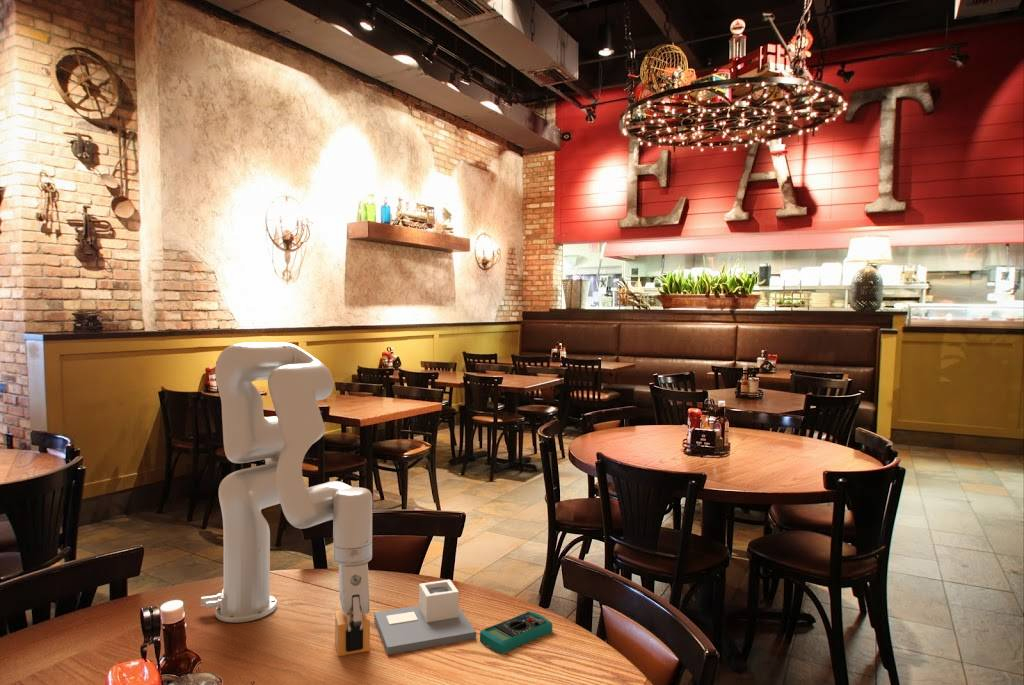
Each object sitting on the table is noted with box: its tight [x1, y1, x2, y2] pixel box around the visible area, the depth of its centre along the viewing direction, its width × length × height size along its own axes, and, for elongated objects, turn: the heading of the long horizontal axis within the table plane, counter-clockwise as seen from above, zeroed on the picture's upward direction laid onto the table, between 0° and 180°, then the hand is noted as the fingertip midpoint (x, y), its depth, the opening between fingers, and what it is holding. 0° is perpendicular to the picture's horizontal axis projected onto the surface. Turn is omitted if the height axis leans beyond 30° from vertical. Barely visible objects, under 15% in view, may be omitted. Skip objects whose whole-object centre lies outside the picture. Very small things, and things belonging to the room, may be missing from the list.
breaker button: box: [429, 588, 449, 594], centre depth 134 cm, size 4×4×4 cm
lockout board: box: [373, 579, 477, 656], centre depth 130 cm, size 18×16×7 cm
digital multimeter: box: [479, 610, 553, 655], centre depth 127 cm, size 7×15×3 cm, turn 132°
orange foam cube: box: [334, 610, 371, 657], centre depth 122 cm, size 6×6×6 cm
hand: (352, 640), depth 122 cm, fingers closed on orange foam cube, 6 cm apart
